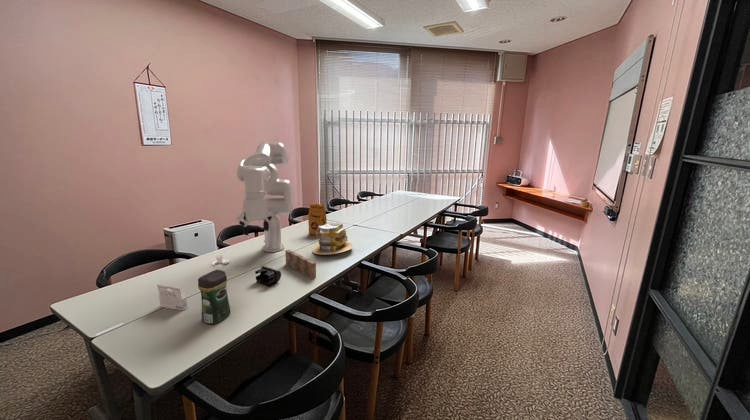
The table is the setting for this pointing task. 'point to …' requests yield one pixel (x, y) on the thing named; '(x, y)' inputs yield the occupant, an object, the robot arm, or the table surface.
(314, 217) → the coffee package
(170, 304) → the ink cartridge box
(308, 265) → the walnut board
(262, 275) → the end cap
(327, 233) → the stacked tins on plate
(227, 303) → the coffee jar
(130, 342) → the table surface
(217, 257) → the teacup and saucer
